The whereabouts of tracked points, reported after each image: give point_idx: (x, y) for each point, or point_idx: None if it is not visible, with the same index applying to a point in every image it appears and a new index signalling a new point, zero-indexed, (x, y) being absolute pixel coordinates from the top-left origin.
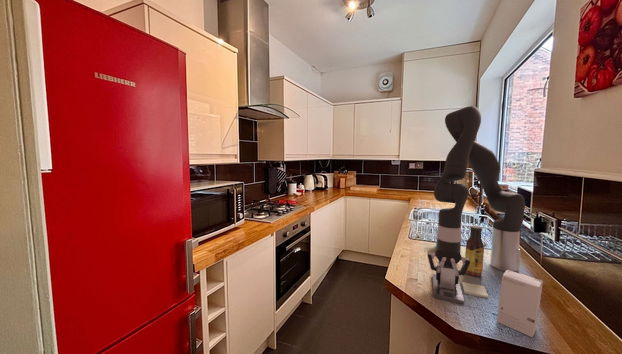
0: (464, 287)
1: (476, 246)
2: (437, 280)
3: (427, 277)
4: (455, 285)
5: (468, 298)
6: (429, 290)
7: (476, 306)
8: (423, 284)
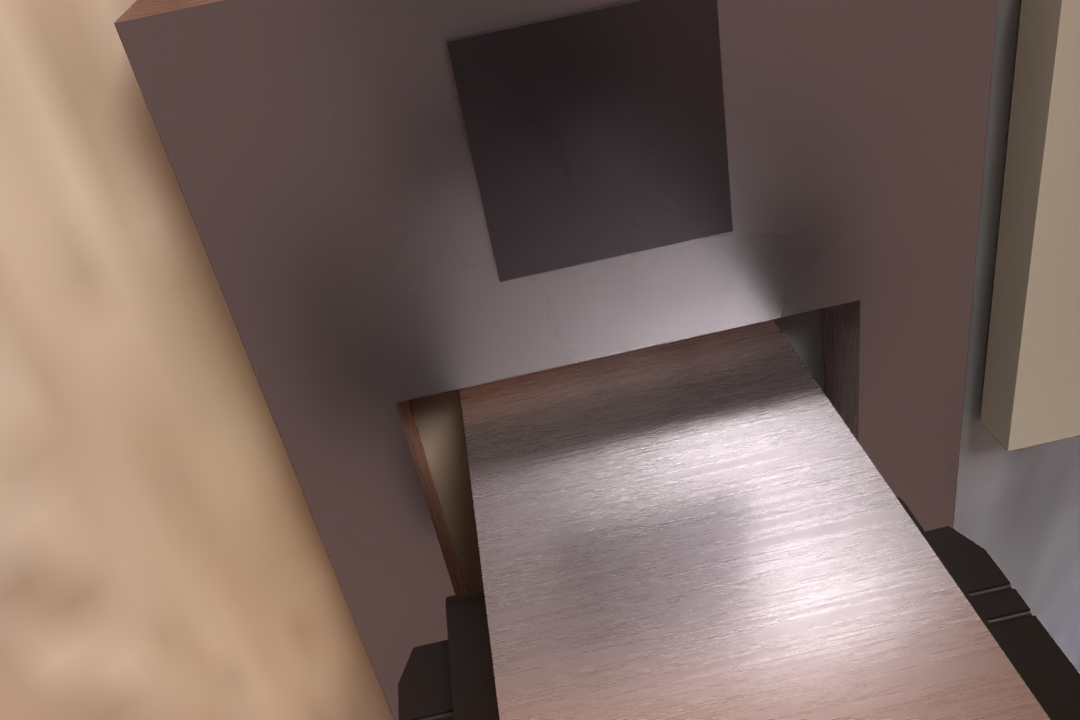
0: (1056, 277)
1: None
2: (402, 398)
3: (36, 158)
4: (853, 346)
5: (1014, 535)
6: (332, 697)
7: (1075, 667)
8: (133, 577)
